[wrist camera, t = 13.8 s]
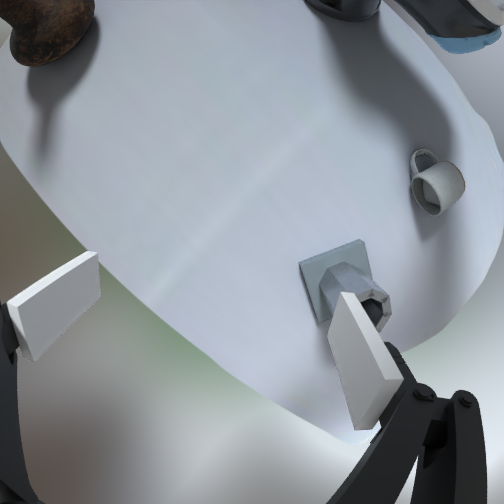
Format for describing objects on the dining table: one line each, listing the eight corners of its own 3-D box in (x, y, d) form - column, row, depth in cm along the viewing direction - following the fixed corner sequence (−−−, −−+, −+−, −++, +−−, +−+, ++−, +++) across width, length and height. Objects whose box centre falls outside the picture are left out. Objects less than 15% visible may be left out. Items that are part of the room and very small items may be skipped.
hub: (356, 256, 43) (386, 281, 32) (364, 294, 45) (393, 326, 34) (315, 272, 43) (336, 303, 33) (326, 309, 45) (346, 346, 35)
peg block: (359, 239, 44) (380, 252, 36) (371, 294, 47) (391, 315, 39) (298, 262, 45) (309, 280, 37) (316, 317, 48) (328, 342, 40)
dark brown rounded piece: (121, 2, 30) (52, -77, 3) (70, 80, 34) (-40, 40, 7) (65, -2, 27) (-4, -53, 1) (22, 67, 32) (-69, 42, 5)
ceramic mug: (448, 193, 42) (474, 198, 35) (420, 214, 43) (445, 221, 36) (427, 142, 40) (453, 139, 32) (397, 160, 41) (421, 159, 33)
